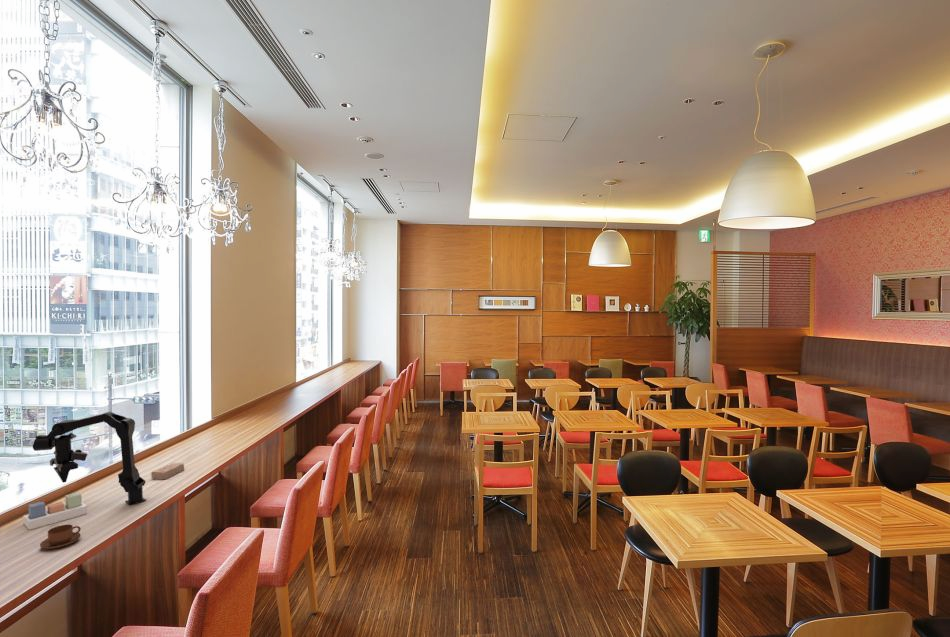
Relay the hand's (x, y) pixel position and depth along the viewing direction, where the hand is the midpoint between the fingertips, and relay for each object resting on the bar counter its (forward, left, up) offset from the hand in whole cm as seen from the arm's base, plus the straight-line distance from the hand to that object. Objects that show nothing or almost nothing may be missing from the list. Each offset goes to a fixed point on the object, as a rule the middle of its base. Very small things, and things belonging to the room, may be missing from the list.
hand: (64, 482), depth 221 cm
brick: (+12, -47, -13) cm, 51 cm away
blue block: (-10, +12, -10) cm, 18 cm away
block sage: (-10, -1, -10) cm, 14 cm away
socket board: (-10, +5, -12) cm, 17 cm away
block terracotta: (-10, +5, -12) cm, 17 cm away
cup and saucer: (-42, +11, -13) cm, 46 cm away
